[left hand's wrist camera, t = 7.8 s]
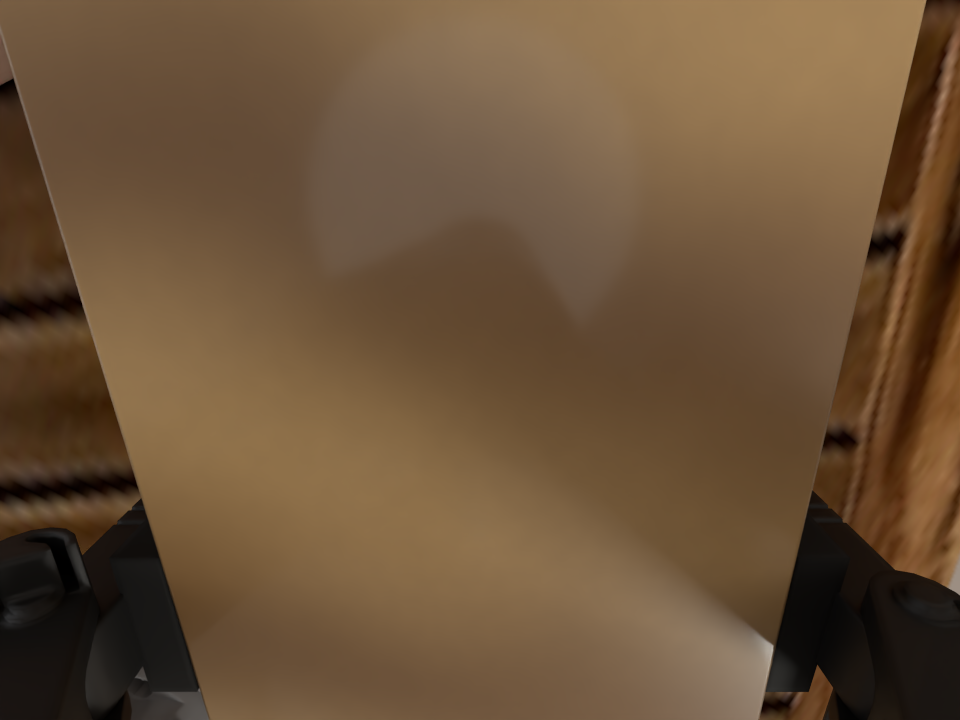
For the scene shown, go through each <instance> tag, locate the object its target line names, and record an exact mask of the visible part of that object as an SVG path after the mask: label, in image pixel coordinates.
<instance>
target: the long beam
mask: <svg viewBox="0 0 960 720" xmlns="http://www.w3.org/2000/svg"><path fill="white" fill-rule="evenodd" d="M925 4H926V0H0V35H1V39H2V42H3V45H4V49H5V52H6V55H7V58H8V62H9V65H10V68H11V72H12V75H13V78H14V81H15V85H16V88H17V91H18V94H19V98H20V101H21V104H22V108H23V111H24V114H25V117H26V121H27V124H28V127H29V131H30V134H31V137H32V140H33V144H34V147H35V150H36V154H37V157H38V160H39V163H40V167H41V170H42V173H43V177H44V180H45V183H46V186H47V190H48V193H49V196H50V199H51V203H52V206H53V209H54V213H55V216H56V219H57V222H58V226H59V229H60V232H61V236H62V239H63V242H64V245H65V249H66V252H67V255H68V259H69V262H70V265H71V268H72V272H73V275H74V278H75V282H76V285H77V288H78V291H79V295H80V298H81V301H82V304H83V308H84V311H85V314H86V318H87V321H88V324H89V327H90V331H91V334H92V337H93V341H94V344H95V347H96V350H97V354H98V357H99V360H100V364H101V367H102V370H103V373H104V377H105V380H106V383H107V387H108V390H109V393H110V396H111V400H112V403H113V406H114V409H115V413H116V416H117V419H118V423H119V426H120V429H121V432H122V436H123V439H124V442H125V446H126V449H127V452H128V455H129V459H130V462H131V465H132V469H133V472H134V475H135V478H136V482H137V485H138V488H139V491H140V495H141V498H142V501H143V505H144V508H145V511H146V514H147V518H148V521H149V524H150V528H151V531H152V534H153V537H154V541H155V544H156V547H157V551H158V554H159V557H160V560H161V564H162V567H163V570H164V574H165V577H166V580H167V583H168V587H169V590H170V593H171V596H172V600H173V603H174V606H175V610H176V613H177V616H178V619H179V623H180V626H181V629H182V633H183V636H184V639H185V642H186V646H187V649H188V652H189V656H190V659H191V662H192V665H193V669H194V672H195V675H196V679H197V682H198V685H199V688H200V692H201V695H202V698H203V701H204V705H205V708H206V711H207V715H208V718H209V720H759V716H760V712H761V708H762V704H763V699H764V695H765V691H766V686H767V682H768V678H769V674H770V669H771V665H772V661H773V656H774V652H775V648H776V643H777V639H778V635H779V631H780V626H781V622H782V618H783V613H784V609H785V605H786V601H787V596H788V592H789V588H790V583H791V579H792V575H793V570H794V566H795V562H796V558H797V553H798V549H799V545H800V540H801V536H802V532H803V528H804V523H805V519H806V515H807V510H808V506H809V502H810V497H811V493H812V489H813V485H814V480H815V476H816V472H817V467H818V463H819V459H820V455H821V450H822V446H823V442H824V437H825V433H826V429H827V424H828V420H829V416H830V412H831V407H832V403H833V399H834V394H835V390H836V386H837V382H838V377H839V373H840V369H841V364H842V360H843V356H844V351H845V347H846V343H847V339H848V334H849V330H850V326H851V321H852V317H853V313H854V309H855V304H856V300H857V296H858V291H859V287H860V283H861V279H862V274H863V270H864V266H865V261H866V257H867V253H868V248H869V244H870V240H871V236H872V231H873V227H874V223H875V218H876V214H877V210H878V206H879V201H880V197H881V193H882V188H883V184H884V180H885V175H886V171H887V167H888V163H889V158H890V154H891V150H892V145H893V141H894V137H895V133H896V128H897V124H898V120H899V115H900V111H901V107H902V102H903V98H904V94H905V90H906V85H907V81H908V77H909V72H910V68H911V64H912V60H913V55H914V51H915V47H916V42H917V38H918V34H919V29H920V25H921V21H922V17H923V12H924V8H925Z"/></svg>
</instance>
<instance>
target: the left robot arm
mask: <svg viewBox="0 0 960 720" xmlns="http://www.w3.org/2000/svg"><path fill="white" fill-rule="evenodd" d="M817 665H818V666H819V667H820V669H821V670H822V672H823V673H824V675H825V676H826V678H827V679H828V681H829V682H830V684H831V685H832V687H833V691H832V693H831V696H830V699H829V702H828V705H827V708H826V711H825V714H824V717H823V720H960V595H958V594H957V593H956V592H954V591H952V590H950V589H949V588H947V587H945V586H943V585H941V584H939V583H938V582H936V581H933V580H930V579H928V578H925V577H922V576H919V575H917V574H914V573H908V572H903V571H897V570H895V569H893V568H892V567H891V566H890V565H889V564H888V563H887V562H886V561H885V560H884V559H883V558H882V557H881V556H880V555H879V554H878V553H877V552H876V551H875V550H874V549H873V548H872V547H871V546H870V545H869V544H868V543H867V542H865V541H864V540H863V539H862V538H861V537H860V536H859V535H858V534H857V533H856V532H855V531H854V530H853V529H852V528H851V527H850V526H849V525H848V524H847V523H843V521H842V518H841V517H840V516H838V515H837V514H836V513H835V512H834V511H833V510H832V509H828V505H827V504H826V503H825V502H824V501H823V500H822V499H821V498H820V497H819V496H818V495H817V494H816V493H815V492H814V491H813V490H812V493H811V497H810V502H809V506H808V510H807V515H806V519H805V523H804V528H803V532H802V536H801V540H800V545H799V549H798V553H797V558H796V562H795V566H794V570H793V575H792V579H791V583H790V588H789V592H788V596H787V601H786V605H785V609H784V613H783V618H782V622H781V626H780V631H779V635H778V639H777V643H776V648H775V652H774V656H773V661H772V665H771V669H770V674H769V678H768V682H767V686H766V691H765V692H809V689H810V686H811V683H812V680H813V676H814V673H815V670H816V667H817ZM0 720H209V718H208V715H207V711H206V708H205V705H204V701H203V698H202V695H201V692H200V688H199V685H198V682H197V679H196V675H195V672H194V669H193V665H192V662H191V659H190V656H189V652H188V649H187V646H186V642H185V639H184V636H183V633H182V629H181V626H180V623H179V619H178V616H177V613H176V610H175V606H174V603H173V600H172V596H171V593H170V590H169V587H168V583H167V580H166V577H165V574H164V570H163V567H162V564H161V560H160V557H159V554H158V551H157V547H156V544H155V541H154V537H153V534H152V531H151V528H150V524H149V521H148V518H147V514H146V511H145V508H144V505H143V501H142V498H141V499H140V500H139V501H138V502H137V503H136V504H135V505H134V506H133V507H132V510H131V511H128V512H127V513H126V514H125V515H124V516H122V517H121V518H120V519H119V520H118V523H117V525H113V526H112V527H111V528H110V529H109V530H108V531H107V532H106V533H105V534H104V535H103V536H102V537H101V538H100V539H99V540H98V541H97V542H96V543H95V544H94V545H93V546H92V547H91V548H89V549H88V550H87V551H86V552H85V553H84V554H83V555H82V554H81V551H80V548H79V545H78V542H77V539H76V536H75V534H74V533H72V532H71V531H69V530H67V529H63V528H44V529H38V530H31V531H28V532H25V533H21V534H18V535H15V536H12V537H9V538H6V539H4V540H2V541H0Z"/></svg>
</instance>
